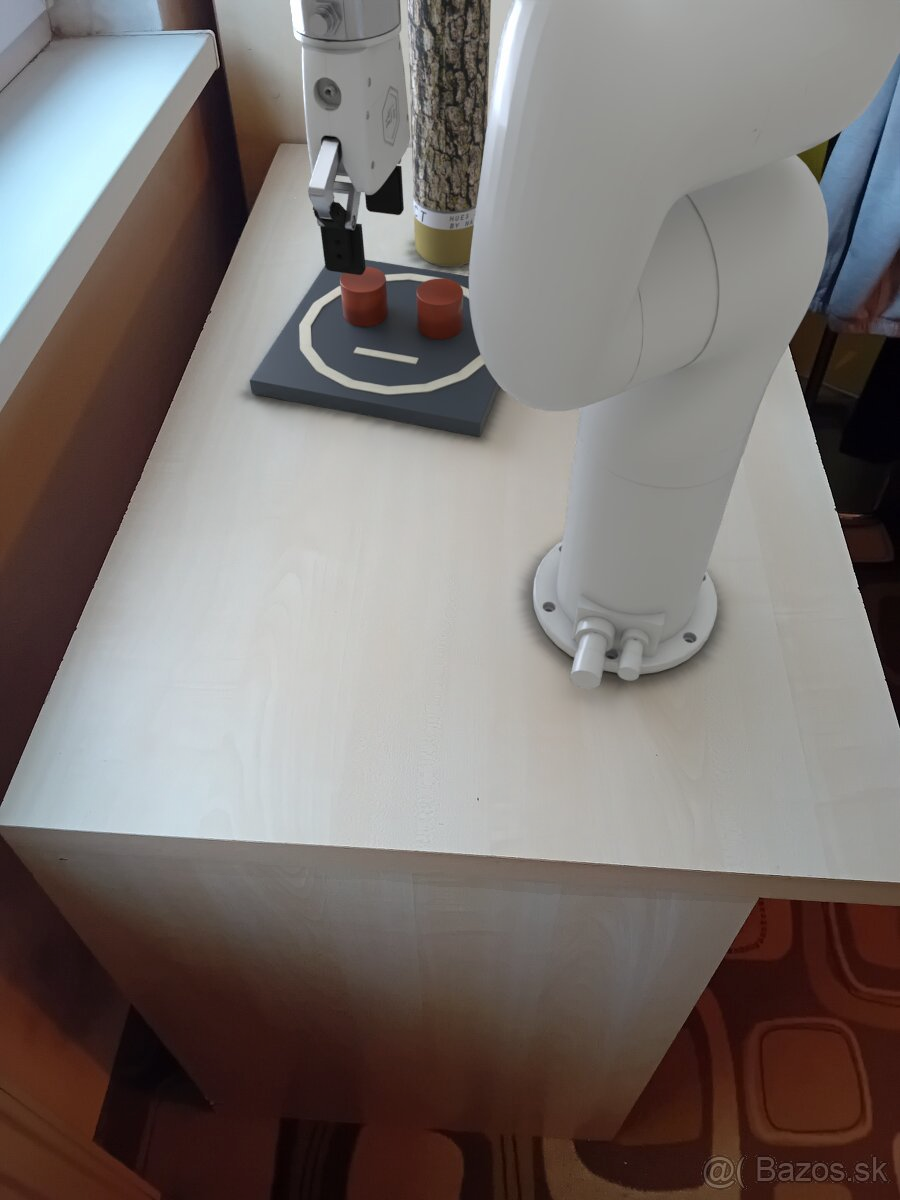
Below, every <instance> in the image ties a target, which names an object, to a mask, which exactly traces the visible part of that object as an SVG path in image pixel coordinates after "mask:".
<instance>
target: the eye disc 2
mask: <svg viewBox="0 0 900 1200" xmlns="http://www.w3.org/2000/svg"><path fill="white" fill-rule="evenodd" d="M417 326H418V330H419V331H420V333H421V334H423V335H424V336H426V337H429V338H432V339H448V338H451V337H454V336H456V335H457V334H458V333H460V331H461V330H462V327H463V289H462V287H461V286H460V285H459V284H458V283H456V282H455V281H452V280H449V279H441V278H440V279H431V280H428V281H425V282H423V283H422V284H421V285H420V286H419V287H418V288H417Z"/></svg>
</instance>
